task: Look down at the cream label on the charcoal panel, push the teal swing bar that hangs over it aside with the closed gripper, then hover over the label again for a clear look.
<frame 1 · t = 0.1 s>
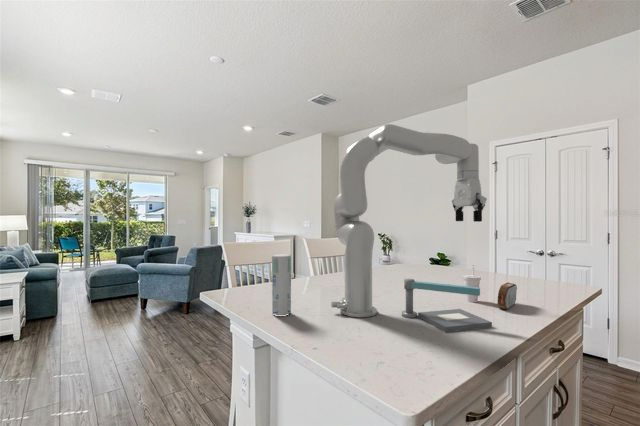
hand: (468, 221, 120), 31 cm above the worktop, tool pointing down, fingers open, 9 cm apart
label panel: (453, 321, 98), on the worktop
smoothie: (471, 301, 122), on the worktop
spray can: (281, 314, 107), on the worktop
swing bar: (439, 287, 99), point 11 cm above the worktop, hinge at 0.0°
tin: (507, 307, 114), on the worktop
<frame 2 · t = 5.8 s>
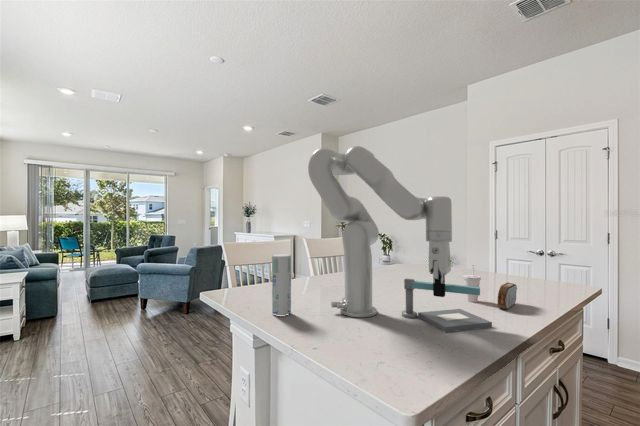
hand: (439, 295, 96), 9 cm above the worktop, tool pointing down, fingers closed
swing bar: (440, 287, 99), point 11 cm above the worktop, hinge at 1.5°, touching gripper
everything else where it was.
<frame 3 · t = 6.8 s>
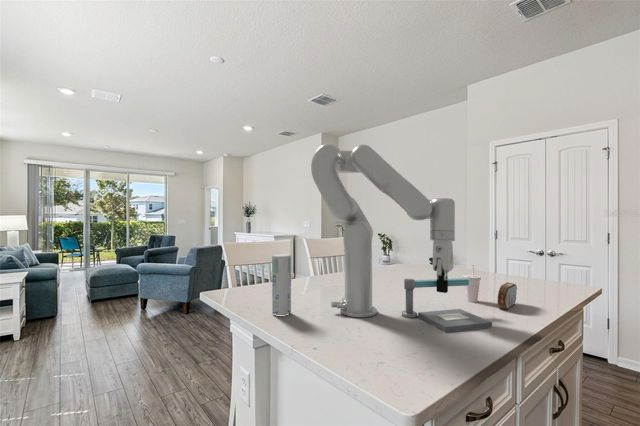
hand: (442, 291, 102), 8 cm above the worktop, tool pointing down, fingers closed
swing bar: (436, 283, 106), point 11 cm above the worktop, hinge at 40.3°, touching gripper
everything else where it was.
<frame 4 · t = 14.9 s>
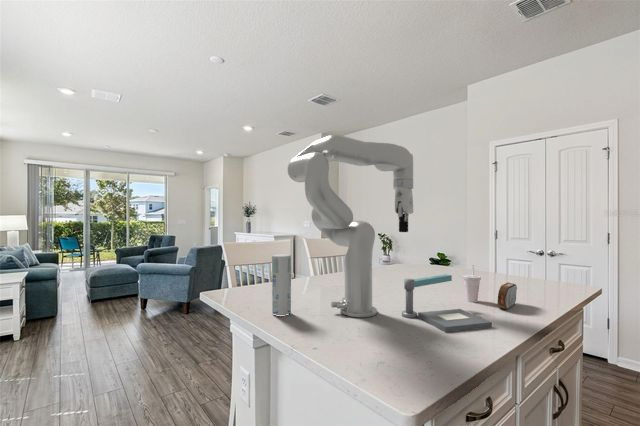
hand: (403, 231, 122), 27 cm above the worktop, tool pointing down, fingers closed
swing bar: (428, 280, 109), point 10 cm above the worktop, hinge at 62.8°
everything else where it was.
at the end: swing bar at +63° (first picture: +0°); smoothie moved 0.2 cm from its start; tin moved 0.3 cm from its start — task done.
